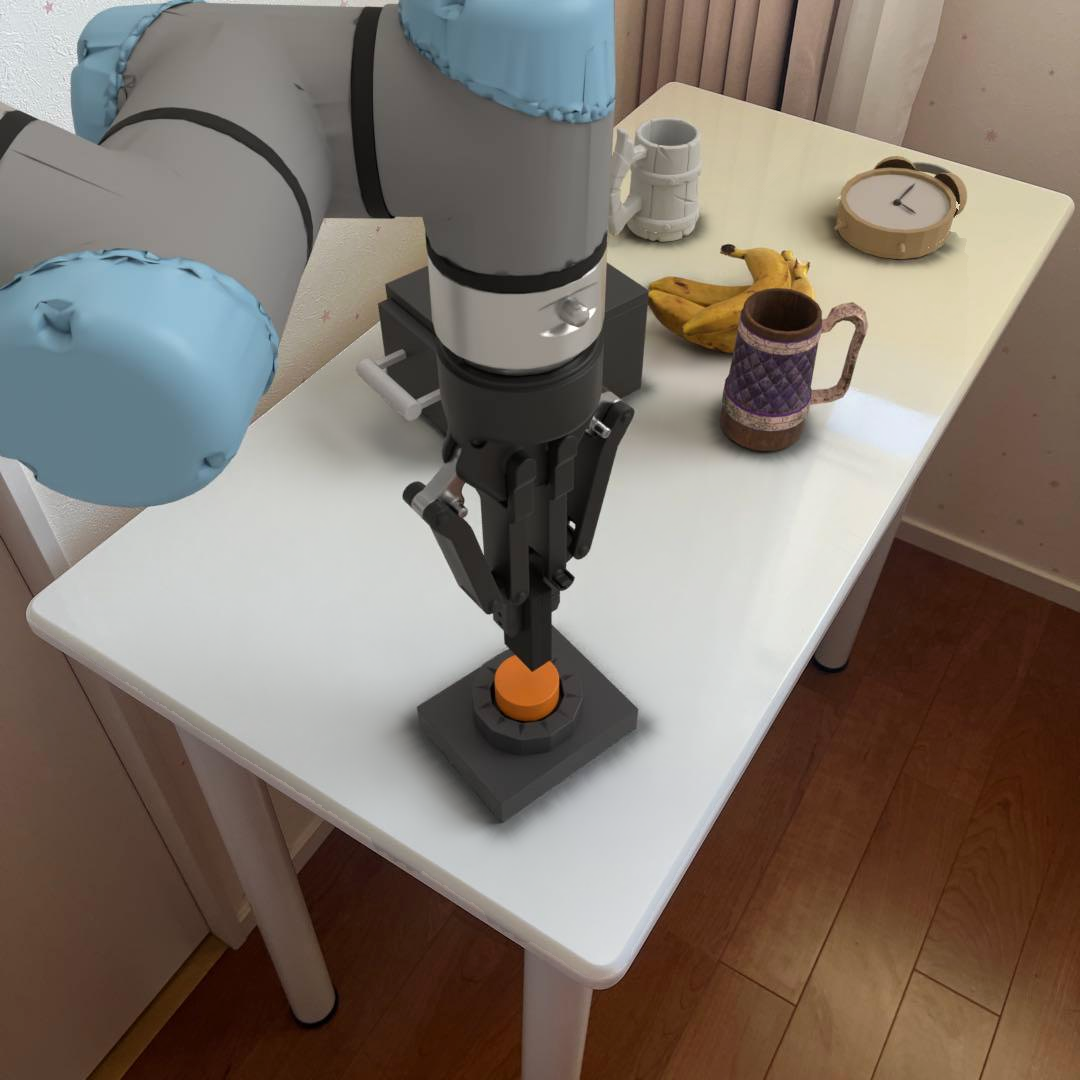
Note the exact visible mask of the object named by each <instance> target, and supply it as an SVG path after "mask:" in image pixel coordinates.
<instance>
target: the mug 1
mask: <svg viewBox="0 0 1080 1080" xmlns="http://www.w3.org/2000/svg"><path fill="white" fill-rule="evenodd" d="M701 148H702V131H701V129H700V128H699V127H698V126H696V125H694V124H693V123H691V122H690V121H688V120H687V119H683V118H680V117H674V116H673V117H671V116H670V117H668V116H665V117H663V116H662V117H653V118H650V120H645V121H643V122H641V123H640V124H639V125H638V126H637V128H636V130H635V134H634V141H633V139H632V138H631V136H630V134H629V132H628V131H627V130H626V129H625V128H622V127H617V128H616V141H615V146H614V151H612V164H611V181H610V199H609V216H608V231H609V233H610V235H612V236H618V235H619V234H620V233H621V232H622V231H623V229H624V227H626V224H627V227H628V229H629V231H631V233H632V234H634V235H635V236H637V237H639V238H642V239H644V240H649V241H653V242H654V241H658V242H664V243H665V242H674V241H678V240H681V239H683V237H686V236H689V235H690V234H691V233H692V232H693V231H694V230H695V228H696V224H697V221H698V220H699V217H700V214H701V204H700V201H699V199H698V197H699V180H700V179H699V178H700V176H701V175H702V169H703V159H702V156H701V150H702V149H701ZM629 170H630V172H631V173H630V182H629V183H630V184H629V193H628V195H627V197H626V198H625V200H624V202H623V203H622V201H621V192H622V190H621V187H622V183H623V181H624V179H625V178H626V176H627V174H628V173H629ZM638 227H639V228H638ZM640 228H641V229H640ZM645 230H647V231H645ZM681 230H682V231H681ZM677 231H679V232H677ZM654 232H657V233H654Z"/></svg>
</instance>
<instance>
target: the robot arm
mask: <svg viewBox="0 0 1080 1080" xmlns="http://www.w3.org/2000/svg"><path fill="white" fill-rule="evenodd" d="M615 2H616V1H615V0H398V3H386V4H384V5H383V6H370V5H366V6H342V5H341V6H339V5H338V6H336V5H305V4H303V5H302V4H301V5H299V4H268V3H267V4H266V3H265V4H264V3H230V2H229V3H228V2H227V3H226V2H225V3H224V2H207V1H206V0H168V1H166V2H162V3H161V2H160V3H159V2H158V3H147V4H145V3H144V4H131V5H117V6H112V7H108V8H106V9H103V10H102V11H99V12H98V13H96V14H95V15H94V16H93V17H92V18H91V19H90V20H89V21H88V22H87V23H86V25H85V26H84V28H83V29H82V31H81V33H80V35H79V38H78V39H77V42H76V56H77V65H75V66H74V67H73V68H72V70H71V73H70V107H71V108H70V109H71V116H72V122H73V123H72V124H73V129H74V133H73V132H71V131H68V130H67V129H64V128H62V127H60V126H57V125H55V124H53V123H51V122H49V121H47V120H41V119H39V118H37V117H35V116H32V115H30V114H28V113H26V112H24V111H22V110H20V109H18V108H16V107H13V106H11V105H9V104H7V103H5V102H2V101H0V457H2V458H5V459H8V460H14V461H15V460H16V461H18V462H19V463H20V464H22V465H23V466H25V468H27V469H28V470H29V471H31V473H32V474H33V478H34V479H35V482H37V483H39V484H40V485H42V486H44V487H45V488H47V489H49V490H51V491H53V492H55V493H58V494H60V495H63V496H65V497H68V498H71V499H74V500H78V501H81V502H85V503H89V504H93V505H97V506H105V507H114V508H125V509H126V508H128V509H133V508H136V509H137V508H150V507H157V506H158V507H159V506H164V505H168V504H171V503H175V502H178V501H181V500H183V499H186V498H187V497H190V496H193V495H195V494H196V493H198V492H200V491H202V490H203V489H205V488H206V487H207V486H209V485H210V484H211V483H213V481H215V479H217V478H218V477H219V476H220V475H221V474H222V473H223V472H224V470H225V469H226V468H227V467H228V465H229V464H230V463H231V462H232V460H233V459H234V458H235V457H236V455H237V454H238V452H239V450H240V447H241V445H242V442H243V441H244V438H245V436H246V434H247V431H248V428H249V426H250V424H251V422H252V420H253V417H254V415H255V412H256V410H257V408H258V405H259V404H260V401H261V399H262V397H263V396H265V395H266V394H267V393H268V392H269V390H270V388H271V386H272V384H273V381H274V379H275V376H276V374H277V370H278V367H279V360H278V359H279V347H280V345H281V341H282V339H283V338H282V337H283V335H284V332H285V329H286V325H287V323H288V319H289V316H290V313H291V311H292V307H293V304H294V301H295V298H296V295H297V292H298V289H299V286H300V283H301V279H302V277H303V275H304V272H305V269H306V268H307V265H308V263H309V261H310V258H311V256H312V253H313V249H314V248H315V244H316V241H317V238H318V235H319V232H320V230H321V227H322V224H323V222H324V220H325V219H367V220H368V219H370V220H372V219H377V220H379V219H380V220H394V219H396V218H422V222H423V227H424V236H425V248H426V257H427V266H428V270H429V283H430V297H431V310H432V321H433V325H434V329H435V333H436V342H435V344H436V354H437V365H438V376H439V387H440V396H441V401H442V405H443V409H444V412H445V415H446V419H447V423H448V432H447V434H446V435H445V438H444V441H443V443H442V446H441V459H442V462H443V465H442V466H441V467H440V468H439V470H438V471H437V473H436V474H435V475H433V477H432V478H431V479H430V480H429V482H428V483H427V484H424V483H423V482H421V481H418V480H417V481H413V482H410V483H409V484H408V485H406V487H405V488H404V490H403V492H402V495H401V496H402V500H403V501H404V503H406V504H407V506H408V507H409V508H410V509H412V510H413V511H414V513H416V514H417V515H418V516H419V517H420V518H421V520H423V521H424V522H425V523H426V524H427V525H428V526H429V528H430V530H431V532H432V534H433V536H434V539H435V540H436V542H437V545H438V546H439V549H440V550H441V553H442V555H443V556H444V559H445V561H446V563H447V565H448V567H449V569H450V571H451V573H452V575H453V578H454V579H455V581H456V583H457V585H458V586H457V587H459V588H460V589H461V590H462V591H463V592H464V594H466V595H467V596H468V597H469V599H470V600H472V602H474V603H475V604H476V605H477V607H478V608H480V610H481V611H482V612H483V613H484V614H485V615H488V616H490V615H492V620H493V621H494V622H495V624H496V625H497V626H498V627H499V628H500V629H501V630H502V631H503V643H504V645H505V646H506V647H507V648H508V649H510V650H511V651H512V652H513V653H514V654H515V655H516V656H517V657H518V658H519V659H520V660H521V661H522V662H523V663H524V664H525V665H526V666H527V667H528V668H529V669H530V671H531V672H533V671H535V670H536V669H538V668H539V667H541V666H542V665H544V664H545V663H547V662H549V661H550V660H552V625H553V624H552V623H553V612H555V611H556V610H558V608H559V606H560V603H561V592H564V591H567V590H568V589H569V588H571V586H572V585H573V584H574V582H575V579H576V577H575V575H573V574H572V573H571V572H570V571H569V570H568V569H567V563H568V562H570V561H571V559H573V558H574V559H575V560H577V561H579V560H582V559H583V558H585V557H586V556H587V555H588V554H589V553H590V551H591V549H592V545H593V541H594V538H595V534H596V530H597V527H598V523H599V519H600V515H601V512H602V507H603V505H604V500H605V497H606V493H607V489H608V485H609V481H610V478H611V477H610V476H611V474H612V471H613V466H614V463H615V460H616V455H617V451H618V447H619V446H620V443H621V442H622V440H623V438H624V436H625V434H626V432H627V430H628V429H629V427H630V425H631V423H632V421H633V419H634V417H635V410H634V408H633V407H632V406H630V405H629V404H628V403H627V402H625V401H624V400H623V399H622V398H621V399H620V398H619V397H617V396H616V395H615V394H613V393H612V392H611V391H609V390H608V389H607V388H605V387H604V386H603V385H602V375H603V351H604V335H603V331H602V325H603V321H604V314H605V290H606V266H607V263H608V262H607V261H608V233H609V232H608V231H609V229H608V216H609V199H610V181H611V164H612V155H613V144H614V129H615V128H614V127H615V109H616V78H617V77H616V19H615V18H616V15H615V14H616V13H615V11H616V8H615V7H616V6H615ZM465 484H467V485H469V486H470V487H472V488H473V489H475V491H476V492H477V494H478V496H479V502H480V514H481V517H480V518H481V531H482V533H481V535H482V545H483V547H482V548H483V549H482V548H481V545H480V543H479V541H478V538H477V535H476V534H475V532H474V529H473V528H472V526H471V525H470V524H469V522H468V521H467V520H466V519H465V518H466V517H467V516H468V514H469V509H468V508H467V507H466V506H465V500H466V499H465V496H464V495H463V488H464V487H465ZM571 522H572V523H573V524H574V527H573V526H572V525H571Z"/></svg>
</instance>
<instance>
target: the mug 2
mask: <svg viewBox="0 0 1080 1080" xmlns="http://www.w3.org/2000/svg"><path fill="white" fill-rule="evenodd" d="M843 321H844V322H845V321H846V322H850V323H852V325H854V328H855V329H854V331H853V334H852V337H851V340H850V343H849V346H848V350H847V353H846V357H845V361H844V364H843V367H842V372H841V375H840V378H839V380H838V381H837V383H836V385H833V386H831V387H828V388H820V389H812V382H813V376H814V370H815V366H816V359H817V354H818V353H817V352H818V349H819V341H820V339H821V336H822V334H825V333H829V332H831V331H832V330H833V329H834V327H835V326H836V325H837V324H839V323H841V322H843ZM868 328H869V323H868V317H867V314H866V311H865V310H864V309H863V308H862V307H861V306H860V305H858V304H857V303H855V302H854V301H852V302H845V303H841V304H838V305H836V306H834V307H832V308H831V309H830V311H829V313H828V315H827V317H826V318H823V310H822V309H821V306H820V304H819V303H818V302H817V301H816V300H815V301H814V300H813V299H812V298H811V297H809V296H807V295H805V294H803V293H802V292H798V291H795V290H791V289H784V288H771V289H765V290H761V291H758V292H756V293H754V294H753V295H751V296H749V297H748V299H747V300H746V301H745V303H744V306H743V309H742V310H741V313H740V318H739V323H738V332H737V337H736V342H735V347H734V352H733V353H732V358H731V363H730V367H729V372H728V375H727V377H725V381H724V386H723V390H722V397H721V404H722V406H721V411H720V418H719V423H720V425H721V429H722V431H723V432H724V434H726V436H727V437H728V438H729V439H730V440H731V441H733V442H735V443H736V444H737V445H740V446H741V447H743V448H747V449H750V450H753V451H761V452H772V451H779V450H782V449H786V448H788V447H791V446H792V445H794V444H795V443H796V442H797V441H800V438H801V436H802V435H803V433H804V430H805V424H806V418H807V416H808V414H809V413H810V408H811V407H810V406H813V405H820V404H827V403H833V402H835V401H838V400H840V399H843V398H844V396H845V395H846V394H847V393H848V391H849V389H850V386H851V383H852V379H853V375H854V371H855V368H856V364H857V361H858V357H859V352H860V351H861V348H862V346H863V343H864V340H865V338H866V335H867V332H868Z"/></svg>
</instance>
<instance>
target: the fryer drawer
mask: <svg viewBox="0 0 1080 1080" xmlns="http://www.w3.org/2000/svg"><path fill="white" fill-rule="evenodd" d="M377 308H378V314H379V315H378V316H379V322H380V323H379V324H380V331H381V338H382V345H383V352H384V357H382V358H379V359H377V360H374V361H373V359H370V358H364V359H362V360H361V361H359V363H358V364H357V365H356V368H355V372H356V375H357V376H358V377H359V378H360V379H361V380H363V381H364V383H366V384H367V385H368V386H369V387H370V388H371V389H372V390H374V392H376V393H377V394H378V395H379V397H381V398H382V399H383V400H384V401H385V402H386V403H387V404H389V406H391V408H393V409H394V410H395V411H396V412H397V413H398V414H399V415H401V417H402V418H404V419H405V420H406V421H408V422H413V421H415V420H417V419H418V417H420V415H421V413H423V415H425V416H426V417H427V418H428V419H429V420H431V421H432V422H433V423H434V424H435V425H436V426H437V427H438V428H440V430H442V431H443V432H444V434H446V435H447V432H448V423H447V419H446V415H445V412H444V409H443V405H442V401H441V396H440V387H439V376H438V365H437V354H436V344H435V342H436V335H435V334H434V333H433V332H432V331H430V330H429V329H428V328H427V327H425V326H424V325H423V324H422V323H421V322H419V321H418V320H417V319H416V318H415V317H412V316H411V315H410V314H409V313H408V312H406V311H405V310H404V309H403V308H402V307H400V306H399V305H398V304H397V303H396V302H394V301H393V300H392V299H391V298H389V299H387V298H386V299H384V300H382V301H380V302H377ZM384 369H386V372H385V370H384Z"/></svg>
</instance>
